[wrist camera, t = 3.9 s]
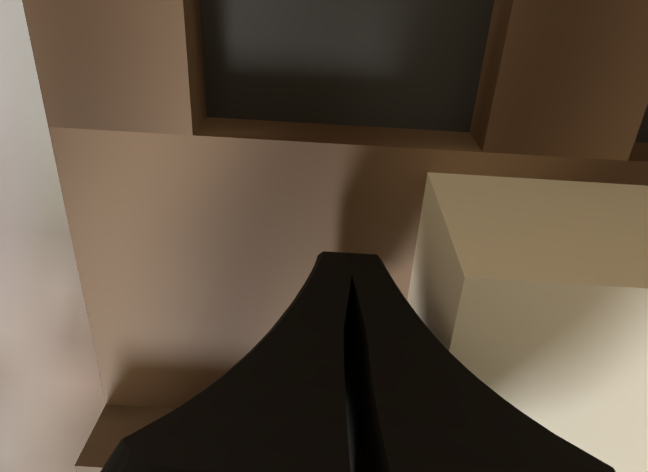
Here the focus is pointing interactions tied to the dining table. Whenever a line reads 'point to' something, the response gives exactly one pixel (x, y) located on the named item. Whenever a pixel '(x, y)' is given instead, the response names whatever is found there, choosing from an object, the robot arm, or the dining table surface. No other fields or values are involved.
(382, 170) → the trap box
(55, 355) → the dining table surface
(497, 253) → the cream block
